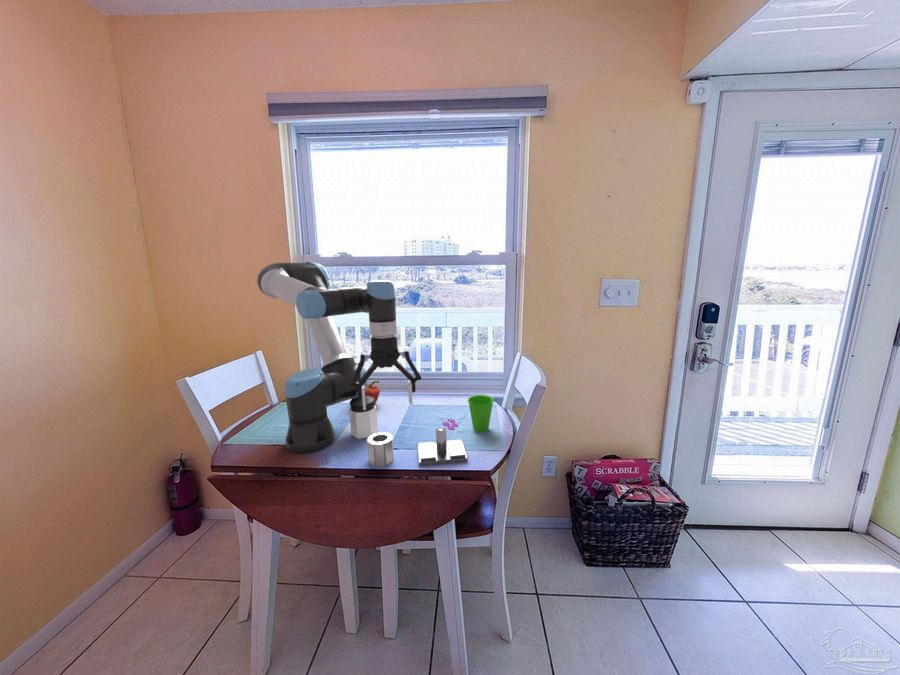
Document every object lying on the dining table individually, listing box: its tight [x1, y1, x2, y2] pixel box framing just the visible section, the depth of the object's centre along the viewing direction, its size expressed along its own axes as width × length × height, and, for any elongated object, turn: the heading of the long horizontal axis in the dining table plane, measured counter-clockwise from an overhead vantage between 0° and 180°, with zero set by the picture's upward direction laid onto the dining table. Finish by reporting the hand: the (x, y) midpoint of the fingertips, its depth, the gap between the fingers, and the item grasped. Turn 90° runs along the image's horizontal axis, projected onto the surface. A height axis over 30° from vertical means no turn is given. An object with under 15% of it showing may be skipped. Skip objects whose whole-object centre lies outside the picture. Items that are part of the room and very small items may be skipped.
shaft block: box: [417, 426, 468, 467], centre depth 104 cm, size 14×10×8 cm
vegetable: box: [355, 380, 381, 405], centre depth 142 cm, size 11×10×10 cm
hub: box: [366, 432, 395, 468], centre depth 102 cm, size 7×7×7 cm
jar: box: [348, 396, 379, 440], centre depth 118 cm, size 9×8×12 cm
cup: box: [467, 394, 495, 434], centre depth 119 cm, size 9×9×11 cm
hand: (387, 405), depth 103 cm, fingers open, 13 cm apart
